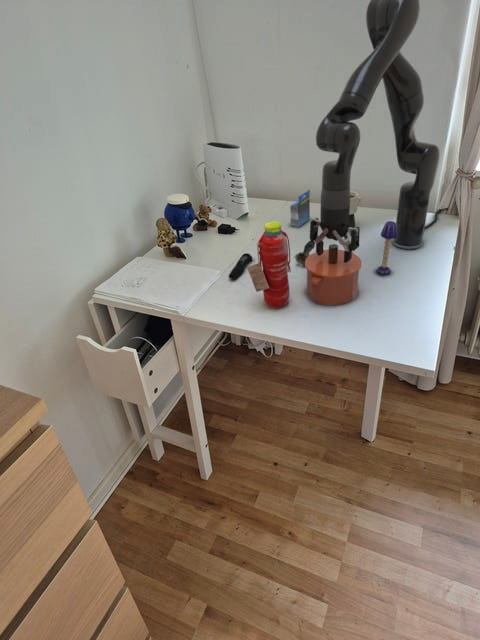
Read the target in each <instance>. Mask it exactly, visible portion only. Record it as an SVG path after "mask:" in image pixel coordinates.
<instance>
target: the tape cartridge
mask: <svg viewBox="0 0 480 640" xmlns="http://www.w3.org/2000/svg"><path fill="white" fill-rule="evenodd" d="M310 195H311V189H308V190H307V191H305V192H303V193H302V194H301V195H299V196H298V197H297V198H298V200H297V201H295V202H294V203H293V204H291V205H290V206H289V207H290V208H289V209H290V211H289V212H290V227H292V228H293V227H294V228H300V227H301V226H302V225H304V224H306V223H307V222H308V221H309V220H310V219H311V218H310V217H311V209H310V205H311V204H310V201H311V200H310Z"/></svg>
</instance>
